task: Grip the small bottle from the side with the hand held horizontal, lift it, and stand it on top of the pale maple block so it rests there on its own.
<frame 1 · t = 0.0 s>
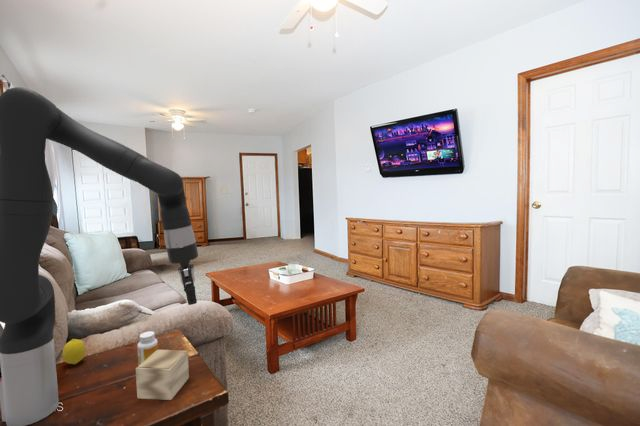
hand: (192, 298, 86), 22 cm above the table, tool pointing down, fingers open, 8 cm apart
lemon: (75, 364, 93), on the table
supplement bottle: (148, 365, 93), on the table
maple block: (164, 387, 82), on the table
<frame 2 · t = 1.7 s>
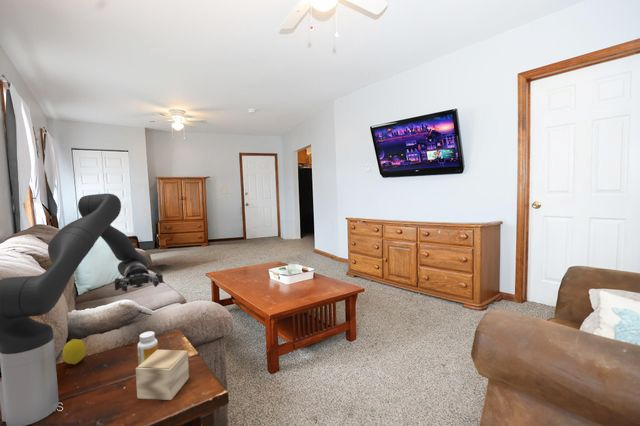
hand: (141, 286, 100), 22 cm above the table, tool horizontal, fingers open, 8 cm apart
nothing on the table moved.
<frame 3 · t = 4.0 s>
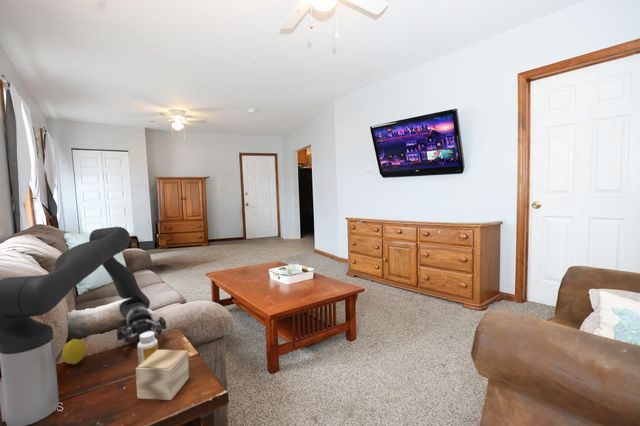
hand: (144, 336, 98), 6 cm above the table, tool horizontal, fingers open, 8 cm apart
nothing on the table moved.
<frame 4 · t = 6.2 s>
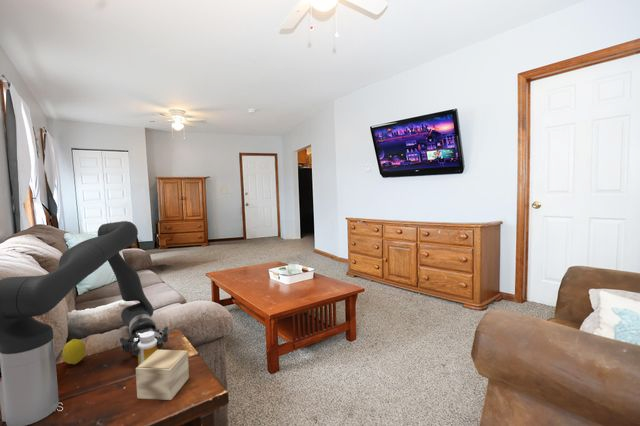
hand: (148, 349, 90), 6 cm above the table, tool horizontal, fingers closed on supplement bottle, 5 cm apart
supplement bottle: (148, 365, 93), on the table, touching gripper
everything else where it was.
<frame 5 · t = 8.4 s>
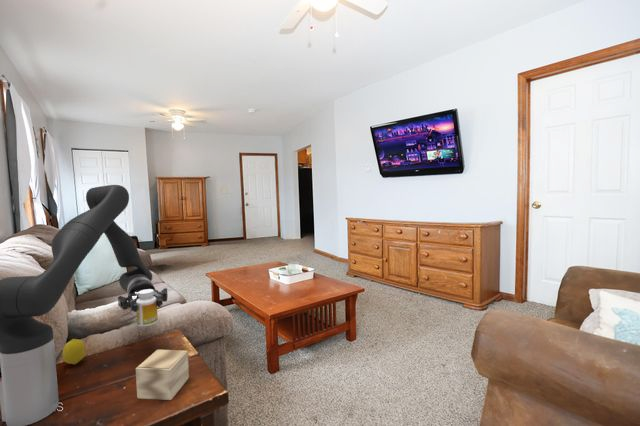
hand: (147, 306, 88), 20 cm above the table, tool horizontal, fingers closed on supplement bottle, 5 cm apart
supplement bottle: (147, 323, 90), point 13 cm above the table, touching gripper
everything else where it was.
when the fingers open (15 cm above the table, at t = 10.9 s): supplement bottle stays where it is, resting on maple block.
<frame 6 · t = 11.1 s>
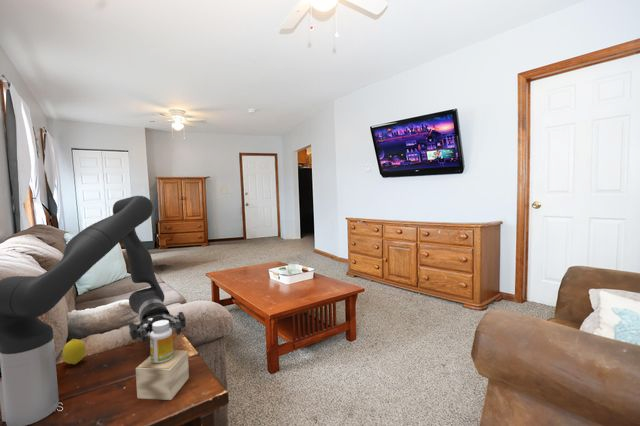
hand: (163, 335, 79), 15 cm above the table, tool horizontal, fingers open, 7 cm apart
supplement bottle: (162, 358, 81), point 8 cm above the table, touching maple block
everything else where it was.
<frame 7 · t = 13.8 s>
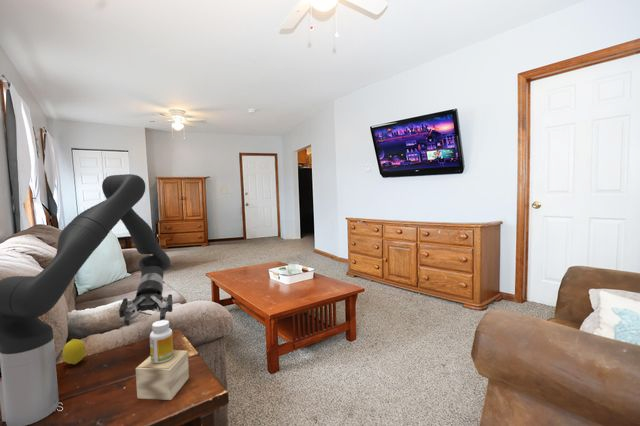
hand: (144, 321, 89), 15 cm above the table, tool tilted 70°, fingers open, 8 cm apart
nothing on the table moved.
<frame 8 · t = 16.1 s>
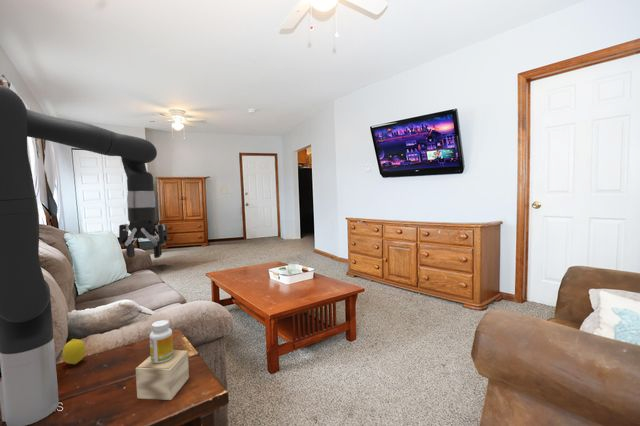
hand: (144, 257, 95), 32 cm above the table, tool pointing down, fingers open, 8 cm apart
nothing on the table moved.
at the end: supplement bottle inside the target area on the maple block (0.2 cm from its centre), point 8.1 cm above the maple block's base; supplement bottle tilted 0°; the gripper is holding nothing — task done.
